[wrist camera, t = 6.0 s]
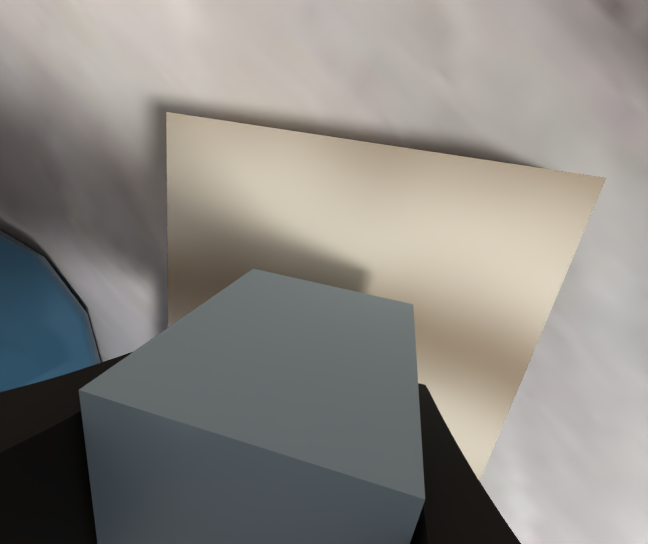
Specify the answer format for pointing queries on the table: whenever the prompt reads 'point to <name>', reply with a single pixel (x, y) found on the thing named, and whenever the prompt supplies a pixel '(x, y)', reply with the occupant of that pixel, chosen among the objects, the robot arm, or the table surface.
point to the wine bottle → (38, 320)
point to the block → (262, 423)
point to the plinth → (384, 245)
